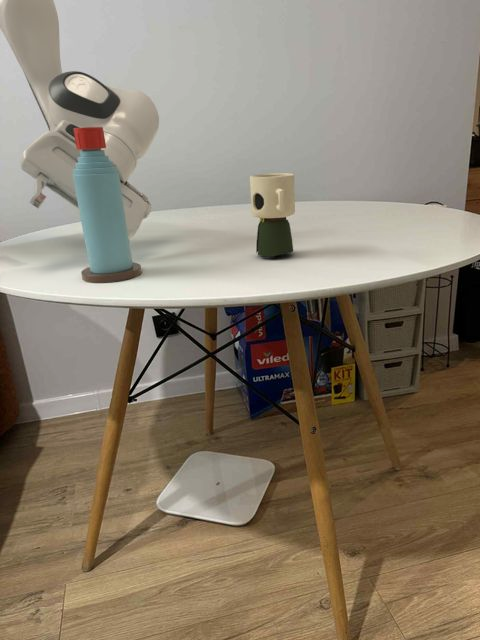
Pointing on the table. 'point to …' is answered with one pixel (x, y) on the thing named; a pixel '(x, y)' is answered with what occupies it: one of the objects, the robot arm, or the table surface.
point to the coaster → (111, 275)
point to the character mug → (273, 212)
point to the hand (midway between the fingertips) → (62, 223)
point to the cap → (89, 138)
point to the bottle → (102, 212)
